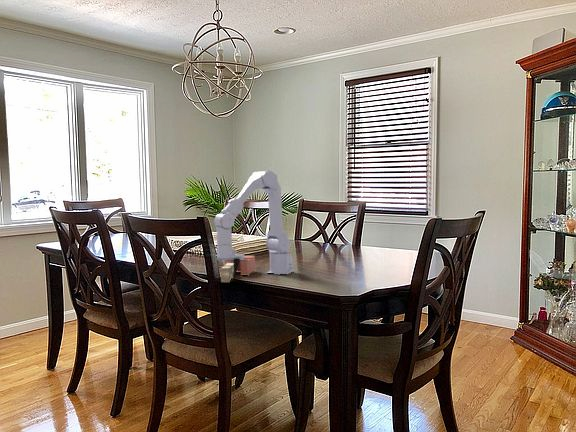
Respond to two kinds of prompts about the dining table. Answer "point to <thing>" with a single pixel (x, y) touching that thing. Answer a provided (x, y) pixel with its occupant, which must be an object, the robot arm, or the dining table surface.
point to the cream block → (227, 272)
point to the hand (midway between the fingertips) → (225, 278)
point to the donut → (232, 253)
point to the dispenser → (245, 264)
